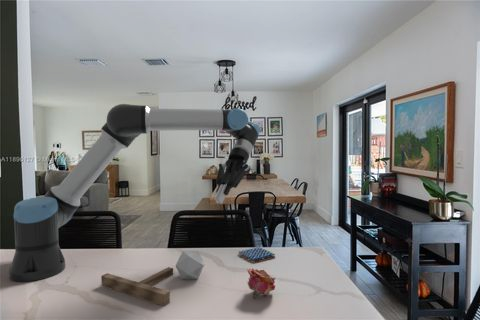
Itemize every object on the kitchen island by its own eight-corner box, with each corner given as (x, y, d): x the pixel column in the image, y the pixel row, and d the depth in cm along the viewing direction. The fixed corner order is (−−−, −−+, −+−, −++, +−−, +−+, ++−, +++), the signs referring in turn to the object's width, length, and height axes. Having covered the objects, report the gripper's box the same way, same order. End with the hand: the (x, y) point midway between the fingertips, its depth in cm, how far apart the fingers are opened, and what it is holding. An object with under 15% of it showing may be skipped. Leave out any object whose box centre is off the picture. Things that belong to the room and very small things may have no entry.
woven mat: (259, 250, 120) (259, 245, 120) (276, 259, 111) (276, 253, 111) (236, 256, 114) (236, 250, 114) (252, 265, 105) (252, 259, 105)
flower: (262, 303, 75) (274, 274, 78) (234, 287, 80) (246, 261, 82) (272, 308, 82) (282, 281, 85) (245, 294, 87) (256, 269, 90)
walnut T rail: (101, 285, 89) (101, 275, 89) (143, 266, 103) (143, 258, 103) (164, 306, 77) (164, 294, 77) (201, 281, 91) (201, 271, 91)
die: (191, 288, 88) (209, 258, 91) (166, 271, 90) (185, 242, 92) (194, 286, 96) (211, 258, 99) (172, 271, 98) (189, 244, 100)
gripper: (258, 159, 121) (238, 209, 107) (229, 159, 127) (206, 205, 113) (252, 146, 116) (230, 196, 102) (222, 146, 123) (197, 193, 109)
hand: (218, 201), depth 108 cm, fingers closed
